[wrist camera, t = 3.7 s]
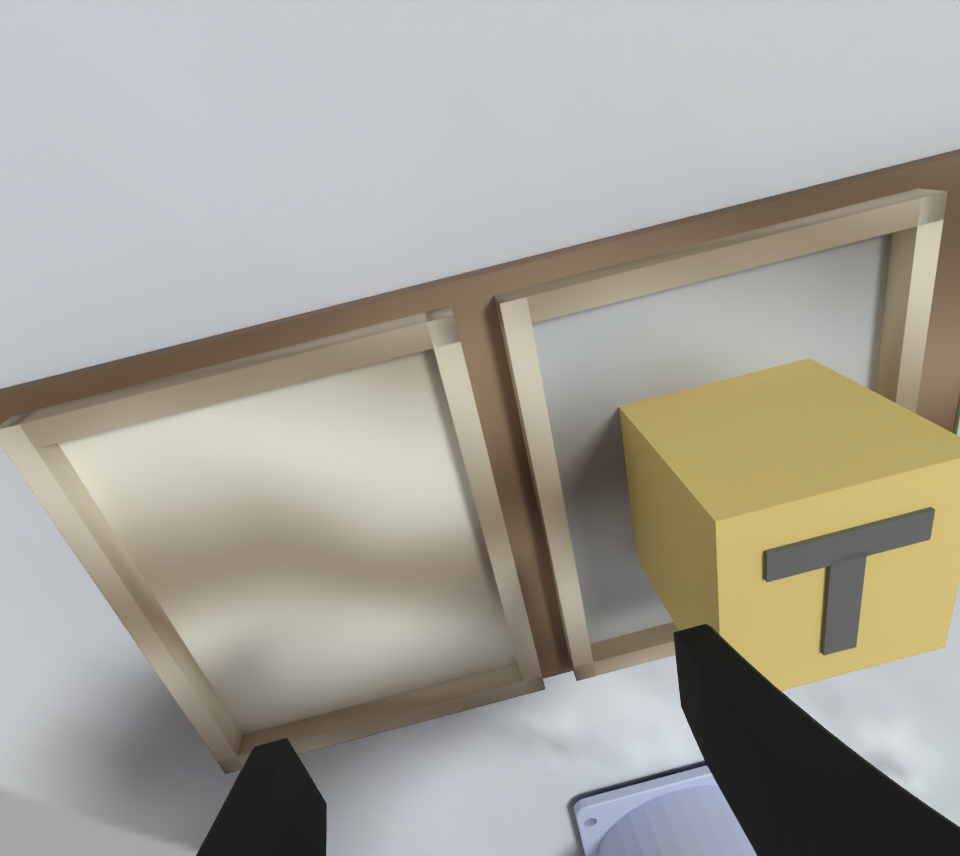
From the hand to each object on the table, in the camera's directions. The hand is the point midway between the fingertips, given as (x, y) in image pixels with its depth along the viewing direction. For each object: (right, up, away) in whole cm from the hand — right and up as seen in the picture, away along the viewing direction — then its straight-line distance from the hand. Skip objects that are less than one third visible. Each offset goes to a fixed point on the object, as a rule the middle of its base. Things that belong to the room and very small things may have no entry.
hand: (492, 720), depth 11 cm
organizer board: (+5, +4, +6) cm, 9 cm away
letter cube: (+6, +4, +5) cm, 9 cm away
